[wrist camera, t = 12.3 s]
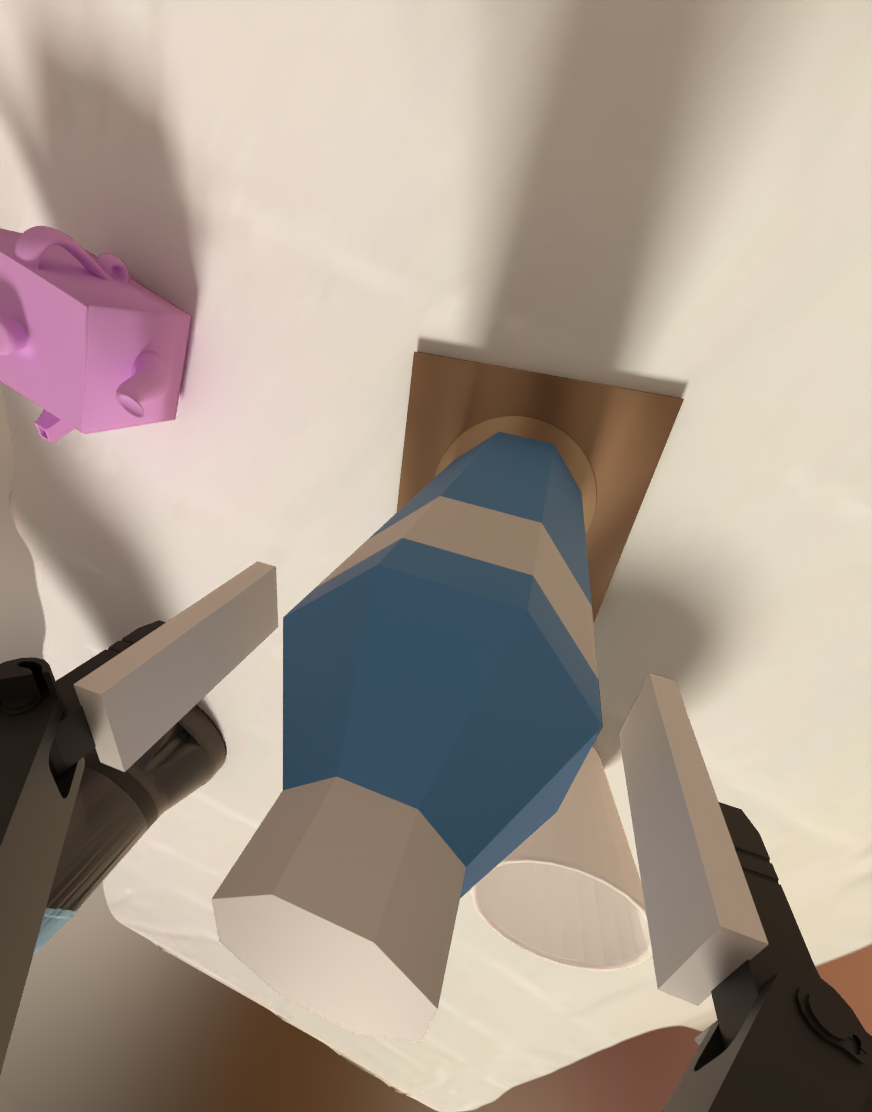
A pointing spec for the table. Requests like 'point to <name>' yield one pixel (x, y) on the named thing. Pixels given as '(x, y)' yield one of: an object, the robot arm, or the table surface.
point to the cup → (572, 884)
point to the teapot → (85, 337)
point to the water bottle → (419, 737)
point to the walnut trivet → (543, 439)
